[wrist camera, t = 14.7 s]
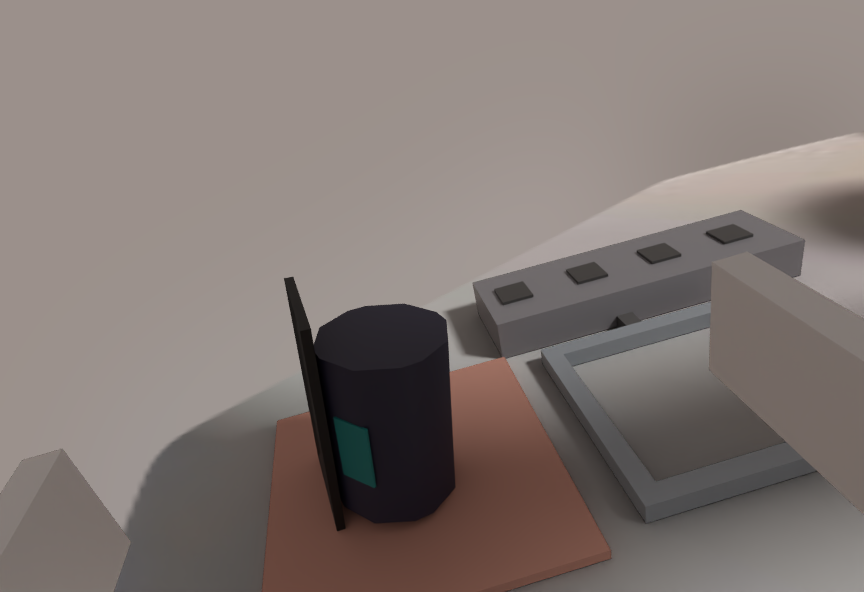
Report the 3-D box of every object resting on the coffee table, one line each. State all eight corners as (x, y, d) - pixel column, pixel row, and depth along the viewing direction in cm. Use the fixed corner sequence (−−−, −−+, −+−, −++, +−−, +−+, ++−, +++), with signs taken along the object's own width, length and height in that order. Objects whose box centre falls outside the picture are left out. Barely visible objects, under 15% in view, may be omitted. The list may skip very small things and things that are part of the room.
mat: (505, 363, 34) (504, 356, 34) (611, 558, 22) (610, 550, 22) (280, 427, 34) (277, 420, 33) (260, 667, 21) (255, 660, 21)
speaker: (292, 546, 25) (233, 343, 20) (318, 455, 30) (276, 277, 25) (465, 536, 24) (444, 327, 20) (461, 445, 30) (443, 263, 25)
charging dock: (738, 241, 42) (741, 207, 40) (1036, 402, 24) (1056, 352, 23) (478, 313, 40) (471, 280, 39) (600, 537, 23) (596, 491, 22)
